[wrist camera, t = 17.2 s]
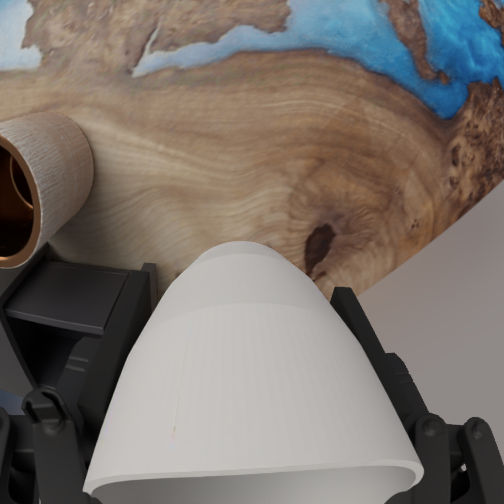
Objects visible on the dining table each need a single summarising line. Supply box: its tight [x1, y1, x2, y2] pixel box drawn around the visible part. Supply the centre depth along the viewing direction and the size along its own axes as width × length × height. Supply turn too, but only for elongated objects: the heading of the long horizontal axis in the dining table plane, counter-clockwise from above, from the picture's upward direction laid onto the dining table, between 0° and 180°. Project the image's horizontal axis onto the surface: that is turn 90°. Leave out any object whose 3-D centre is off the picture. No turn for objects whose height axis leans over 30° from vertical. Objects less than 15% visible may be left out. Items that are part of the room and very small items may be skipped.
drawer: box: [2, 260, 158, 390], centre depth 27 cm, size 23×13×9 cm, turn 82°
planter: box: [0, 111, 94, 269], centre depth 20 cm, size 11×11×10 cm
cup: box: [83, 241, 424, 504], centre depth 10 cm, size 8×8×10 cm
